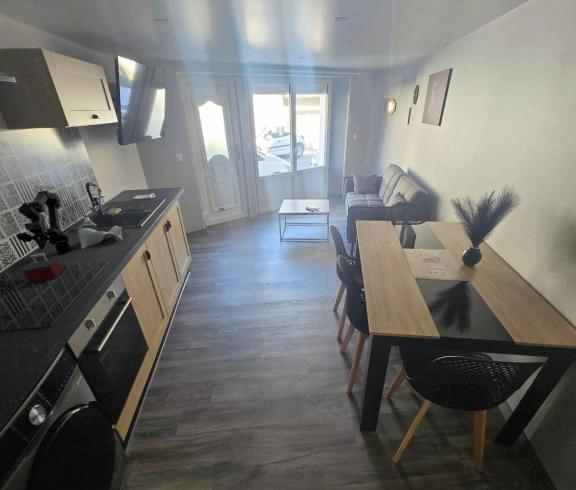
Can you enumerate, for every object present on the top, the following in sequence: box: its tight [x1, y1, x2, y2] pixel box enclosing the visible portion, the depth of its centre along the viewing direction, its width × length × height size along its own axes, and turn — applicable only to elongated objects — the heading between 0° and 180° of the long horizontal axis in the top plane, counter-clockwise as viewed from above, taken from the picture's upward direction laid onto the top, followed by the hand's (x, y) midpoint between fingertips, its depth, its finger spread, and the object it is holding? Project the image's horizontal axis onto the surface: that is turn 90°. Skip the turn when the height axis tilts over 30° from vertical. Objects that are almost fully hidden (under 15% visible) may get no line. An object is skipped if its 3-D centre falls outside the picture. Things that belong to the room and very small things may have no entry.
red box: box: [23, 258, 63, 284], centre depth 159 cm, size 10×12×6 cm
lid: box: [22, 252, 58, 273], centre depth 156 cm, size 11×12×5 cm
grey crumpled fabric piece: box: [77, 225, 126, 250], centre depth 197 cm, size 25×19×10 cm
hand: (41, 249), depth 162 cm, fingers closed
